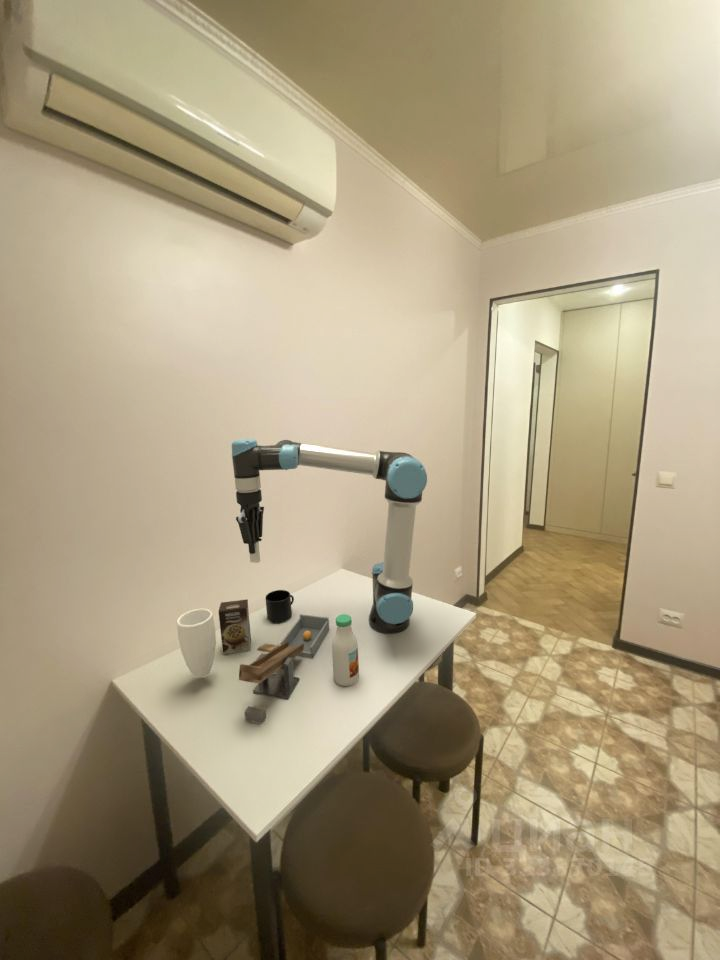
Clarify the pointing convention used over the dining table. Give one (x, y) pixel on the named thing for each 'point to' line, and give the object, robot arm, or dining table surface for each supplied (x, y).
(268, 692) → the fulcrum
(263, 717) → the block
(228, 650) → the coffee box
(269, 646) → the lever
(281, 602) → the mug
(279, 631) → the dining table surface
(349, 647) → the milk bottle
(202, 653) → the cup
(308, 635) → the ball
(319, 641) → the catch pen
